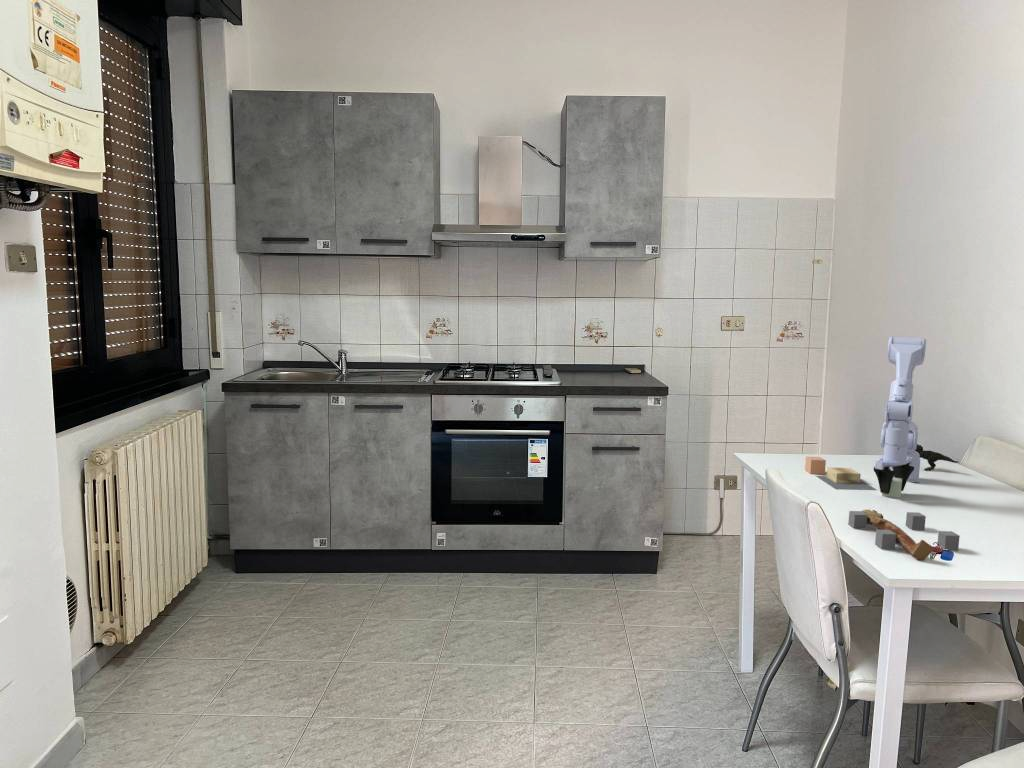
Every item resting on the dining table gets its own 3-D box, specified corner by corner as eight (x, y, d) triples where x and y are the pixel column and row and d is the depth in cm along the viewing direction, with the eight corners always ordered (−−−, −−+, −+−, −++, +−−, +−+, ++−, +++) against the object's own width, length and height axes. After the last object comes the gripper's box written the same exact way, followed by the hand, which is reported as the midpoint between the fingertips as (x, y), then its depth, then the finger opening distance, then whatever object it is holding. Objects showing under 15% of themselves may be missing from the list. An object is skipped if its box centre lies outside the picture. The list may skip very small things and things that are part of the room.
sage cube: (900, 495, 208) (902, 478, 208) (900, 499, 204) (901, 482, 204) (883, 493, 210) (884, 476, 210) (881, 497, 207) (883, 479, 206)
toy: (912, 465, 246) (914, 441, 245) (961, 474, 234) (963, 449, 233) (905, 467, 243) (907, 443, 242) (955, 476, 231) (957, 451, 230)
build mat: (854, 478, 227) (854, 476, 227) (877, 491, 212) (877, 490, 212) (815, 477, 227) (815, 475, 227) (835, 490, 213) (835, 489, 212)
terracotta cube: (818, 472, 234) (820, 456, 233) (824, 475, 230) (825, 460, 229) (804, 471, 234) (805, 456, 233) (810, 475, 230) (811, 459, 229)
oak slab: (849, 477, 226) (850, 467, 226) (859, 483, 219) (860, 473, 219) (826, 476, 226) (827, 467, 226) (836, 482, 219) (836, 473, 219)
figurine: (917, 535, 157) (853, 489, 187) (898, 558, 158) (837, 508, 187) (944, 555, 158) (876, 506, 187) (925, 577, 159) (860, 525, 188)
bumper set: (917, 526, 181) (919, 512, 181) (958, 550, 164) (959, 535, 164) (848, 524, 181) (849, 510, 181) (881, 549, 165) (882, 533, 164)
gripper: (898, 439, 212) (894, 485, 214) (866, 443, 205) (862, 491, 207) (922, 443, 206) (917, 491, 208) (890, 448, 199) (886, 497, 201)
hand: (891, 491), depth 207 cm, fingers closed on sage cube, 6 cm apart
